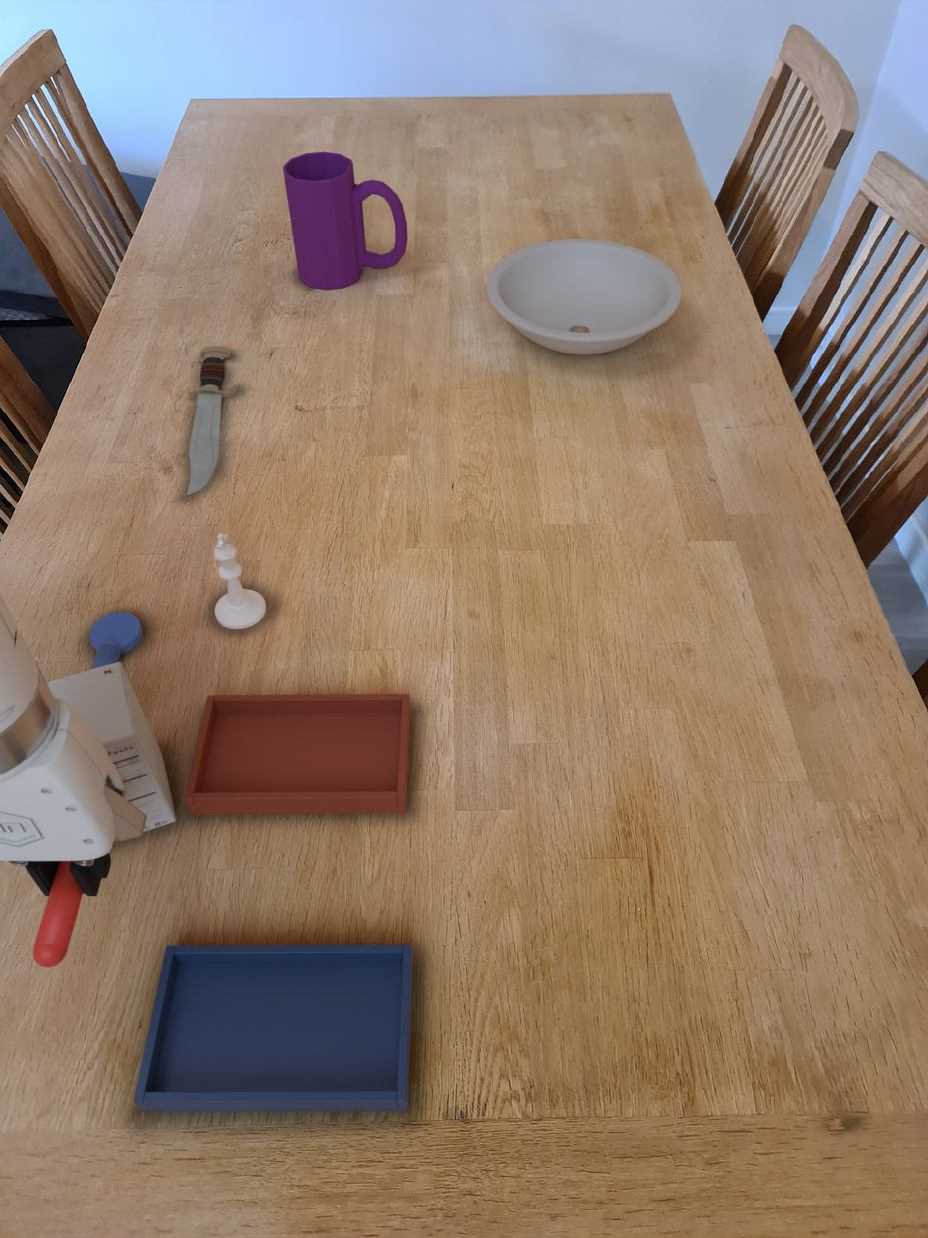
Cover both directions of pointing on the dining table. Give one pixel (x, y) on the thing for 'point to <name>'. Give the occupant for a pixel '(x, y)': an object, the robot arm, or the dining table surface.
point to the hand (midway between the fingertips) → (77, 874)
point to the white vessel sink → (583, 294)
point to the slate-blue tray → (279, 1030)
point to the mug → (335, 220)
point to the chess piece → (235, 591)
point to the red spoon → (58, 918)
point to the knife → (207, 417)
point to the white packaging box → (122, 736)
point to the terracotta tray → (301, 755)
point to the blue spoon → (114, 637)
